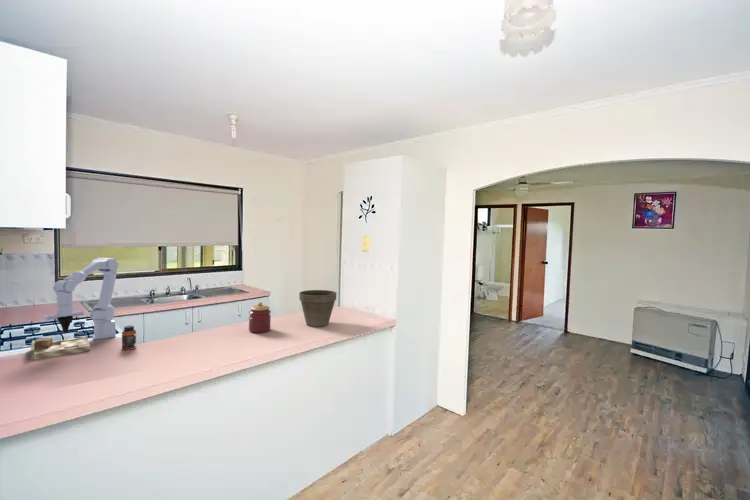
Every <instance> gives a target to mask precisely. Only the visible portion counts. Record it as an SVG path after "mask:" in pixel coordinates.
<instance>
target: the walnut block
mask: <svg viewBox="0 0 750 500" xmlns="http://www.w3.org/2000/svg"><path fill="white" fill-rule="evenodd" d="M52 342H53V337H41V338H37V339H35V350H37V349H48V348H50V347H51V346H52V345H53V344H52Z"/></svg>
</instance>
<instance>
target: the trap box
mask: <svg viewBox="0 0 750 500" xmlns="http://www.w3.org/2000/svg"><path fill="white" fill-rule="evenodd" d="M35 341H36V339H32V341H31V346H30V347H31V348H30V356H31V357H30V361H33V360H34V361H35V360H40V359H45V358H46V359H47V358H53V357H58V356H59V357H60V356H65V355H70V354H71V355H72V354H77V353H78V354H79V353H84V352H90V351H91V345H90V342H89V339H88V336H86V337H85V336H84V337H78V338H77V337H76V338H71V339H68V338H67V339H63V340H54V341H53V340H52V344H53V345H52V346H51V347H50V348H48V349H37V350H35Z"/></svg>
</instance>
